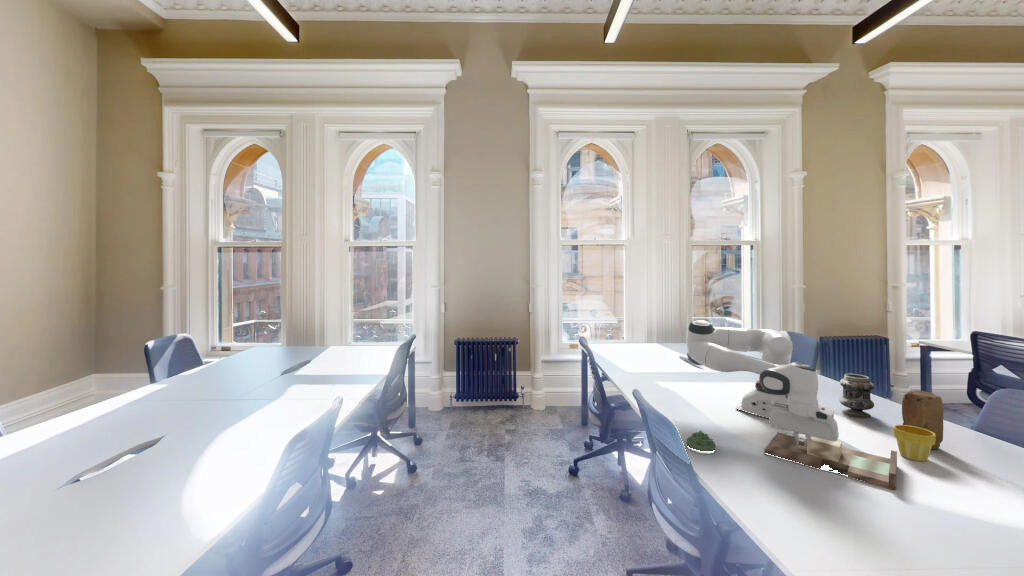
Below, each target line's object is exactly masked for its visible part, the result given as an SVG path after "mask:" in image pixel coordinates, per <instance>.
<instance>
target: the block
mask: <svg viewBox="0 0 1024 576" xmlns="http://www.w3.org/2000/svg"><path fill="white" fill-rule="evenodd" d="M943 406H944V405H943V399H942V397H941V396H940V395H937V394H935V393H932V392H929V391H925V390H908V391H906V393H905V394H904V396H902V400H901V416H902V417H901V418H902V421H903V422H902V425H909V426H915V427H919V428H923V429H926V430H929V431H931V432H933V433H935V435H936V441H935V444H934V445H932V448H931V450H936V449H939V448H940V447H941V443H943V440H944V407H943Z"/></svg>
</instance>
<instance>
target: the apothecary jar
mask: <svg viewBox="0 0 1024 576" xmlns="http://www.w3.org/2000/svg"><path fill="white" fill-rule="evenodd" d="M839 384H840V386H842V395H841V396H840V397H839V398H838V401H839V403H840V404H841V405H842V406H843V407H846V408H847V409H843V410H842V411H841V412H842V414H844V415H847V416H850V417H854V418H859V419H869V418H872V415H871V414H870V413H869V412H866V411H867V410H868V411H870V410H872V409H874V407H875V403H874V401H873V400H872V399H871V391H873V390H874V387H875V385H874V384H873V383H872V382H871V381H870V377H869V376H867V375H862V374H856V373H845V374H844V377H843V378H841V379H840V381H839Z"/></svg>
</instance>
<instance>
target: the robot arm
mask: <svg viewBox="0 0 1024 576" xmlns="http://www.w3.org/2000/svg"><path fill="white" fill-rule="evenodd" d="M687 330H688V333H687V338H686V339H687V340H686V344H687V349H686V350H687V353H686V354H687V355H686V356H687V359H688V361H689V362H690V363H691V364H693V365H695V366H703V367H705V368H708V369H710V370H713V371H715V372H716V371H717V372H720V373H733V372H749V373H753V374H755V375H758V376H759V377H758V380H756V382H755V384H754V387H755V388H754V389H753V390H751V391H749V392H747V393H745V394H744V395H743V397H742V399H741V402H739V403H737V404H736V407H737V408H738V409H740V410H744V411H747V412H750V413H754V414H757V415H760V416H763V417H762V418H764V417H766V418H765V419H767V418H770V419H768V420H769V421H768V422H769V423H768V424H769V425H770V427H771V428H775V429H780V430H784V431H787V432H791V433H793V435H792V436H795V438H796V440H797V445H801V446H805V447H807V442H808V440H809V439H810V438H811V436H812V437H817V438H821V439H825V440H829V441H834V442H835V441H837V442H838V440H839V427H838V422H837V421H836V419H835V411H833V410H832V409H830V408H828V407H826V406H823V405H821V404H819V399H818V396H817V395H818V392H819V379H818V377H819V376H818V373H817V369H815V368H814V366H812V365H810V364H806V363H803V362H799V361H796V362H795V361H794V362H791V360H792V353H793V351H794V346H793V341H792V340H791V338H790V337H788V336H787V335H786V334H784V333H783V332H780V331H779V330H776V329H770V328H768V329H767V328H741V327H729V326H727V327H726V326H713V324H712V323H710V322H709V321H708V320H707V321H706V320H701V319H699V320H698V319H697V320H693V321H691V322H690V323H689V325H688V329H687ZM741 352H744V353H747V352H748V353H749V352H751V353H752V352H762V356H761V358H758V357H754V356H750V355H748V354H744V353H741ZM738 406H739V407H738ZM736 407H735V408H736ZM757 415H756V416H757ZM760 416H759V417H760ZM800 434H801V435H804V436H805V439H806V440H802V439H800V438H801V437H800V436H799V435H800ZM799 437H800V438H799Z"/></svg>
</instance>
